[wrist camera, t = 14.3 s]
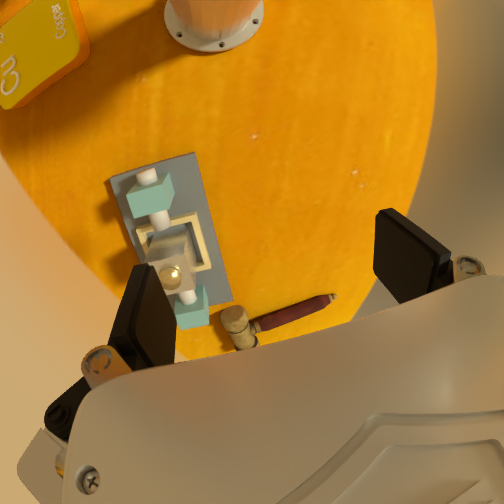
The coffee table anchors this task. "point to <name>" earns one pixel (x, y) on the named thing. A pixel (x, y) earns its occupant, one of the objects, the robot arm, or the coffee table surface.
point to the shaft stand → (171, 217)
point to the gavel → (266, 320)
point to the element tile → (40, 49)
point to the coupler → (173, 260)
